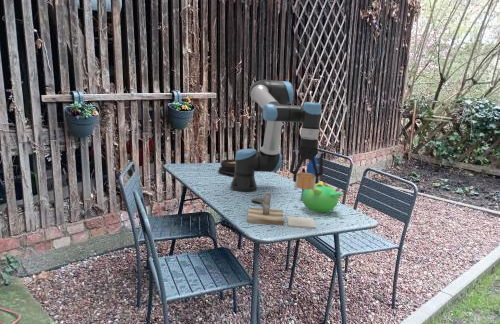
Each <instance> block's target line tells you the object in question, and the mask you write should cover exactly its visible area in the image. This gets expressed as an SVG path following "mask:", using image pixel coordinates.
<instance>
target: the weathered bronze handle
mask: <svg viewBox="0 0 500 324" xmlns="http://www.w3.org/2000/svg"><path fill="white" fill-rule="evenodd" d="M251 201H252V202H257V203H260V204H261V205H263V204H264V198H262V197H254V198H252V199H251Z"/></svg>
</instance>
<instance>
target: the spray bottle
mask: <svg viewBox="0 0 500 324" xmlns="http://www.w3.org/2000/svg"><path fill="white" fill-rule="evenodd" d="M314 160H315V164H316V167H317V171H318V172H319V163H318V155H316V156H315V157H314ZM305 173H311V174H314V175H315V172H314V168H313V165H312V161H311V160H308V162H307V164H306V172H305ZM320 176H321V175H320ZM320 176H319V177H318V183H319V182H321V180H320V179H321V178H320ZM318 183H315V184H318ZM304 190H305V189H301V194H300V195H301V196H300V201H301V202H303V200H302V194H303V192H304Z"/></svg>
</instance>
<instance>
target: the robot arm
mask: <svg viewBox="0 0 500 324" xmlns="http://www.w3.org/2000/svg"><path fill="white" fill-rule="evenodd" d="M249 97H250V98H251V100H252V101H253V102H254V103H256V104H258V105H259V106H260V108H261V109H262V112H261V113H262V118H263V120H264V121H266V126H265V131H264V132H265V133H264V139H263V145H262V146H261V147H259V151H257V149H255V148H242V149H238V150H237V151H236V154H235V158H234V160H235V175H233V178H232V180H231V182H230V189H231V190H233V191H235V192H244V193H246V192H248V193H249V192H254V191H256V190H257V183H256V178H255V174H256V173H255V172H259V173H260V172H261V173H274V172H275V173H276V172H278V171H279V170H280V168H281V166H282V161H283V155H282V154H281V152H280V151H281V150H280V149H279V143H280V138H281V131H282V126H283V122H285V123H286V122H287V123H300V124H301V129H300V130H301V131H300V137H301V138H300V141H299V143H300V144H299V148H298V150H297V149H296V150H292V159H291V162H290V163H291V164H290V167H289V173H290V174H292V175H293V176H292V177H293V178H292V181H293V182H295V183H294V189H295V191H296V190H298V188H297V184H298V173H299V170H300V169H301V166H302V164H303V162H304V161H305V160H306V161H307V160H308V161H309V160H311V161H312V165H313V168H314V172H315V175H314V183H313V189H312V190H313V191H315V183H318V177H319V176H324V170H323V169H324V167H323V166H324V163H323V162H324V161H323V160H324V159H323V158H324V156H325V153H323V152H320V151H318V147H319V145H318V143H319V140H318V139H319V133H320V125H321V124H320V123H321V115H322V104H321V103H320V102H312V101H305V102H304V104H303V105H295V104H294V105H291V104H292V103H293V101H294V88H293V84H292V83H291V82H290V81H284V80H273V79H261V80H258V81H255V82H254V83H253V84H252V85H251V86H250V88H249ZM298 155H300V159H299V161H298V162H297V165H296V167H295V164H296V159H297V156H298ZM315 156H317V157H318V171H317V167H316V164H315V160H314V157H315Z"/></svg>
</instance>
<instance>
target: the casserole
mask: <svg viewBox="0 0 500 324" xmlns="http://www.w3.org/2000/svg"><path fill="white" fill-rule="evenodd" d="M220 165H221V166H220V167H218V171H219V172H220V173H223V174H226V175H228V174H230V175H229V176H234V175H235V159H224V160H221V162H220Z"/></svg>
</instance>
